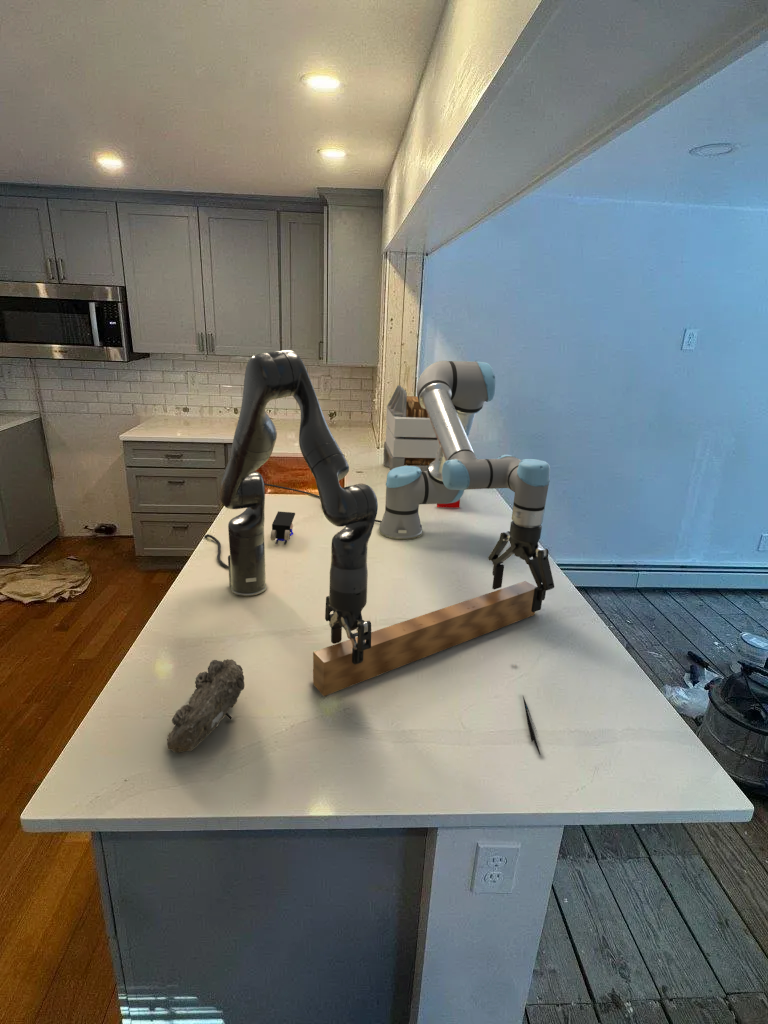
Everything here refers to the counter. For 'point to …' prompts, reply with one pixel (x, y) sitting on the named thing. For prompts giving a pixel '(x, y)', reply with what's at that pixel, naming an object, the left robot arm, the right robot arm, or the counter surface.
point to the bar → (421, 637)
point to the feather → (530, 725)
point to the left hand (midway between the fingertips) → (346, 652)
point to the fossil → (206, 705)
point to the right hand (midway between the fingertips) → (515, 598)
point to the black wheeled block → (282, 527)
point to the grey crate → (408, 433)
